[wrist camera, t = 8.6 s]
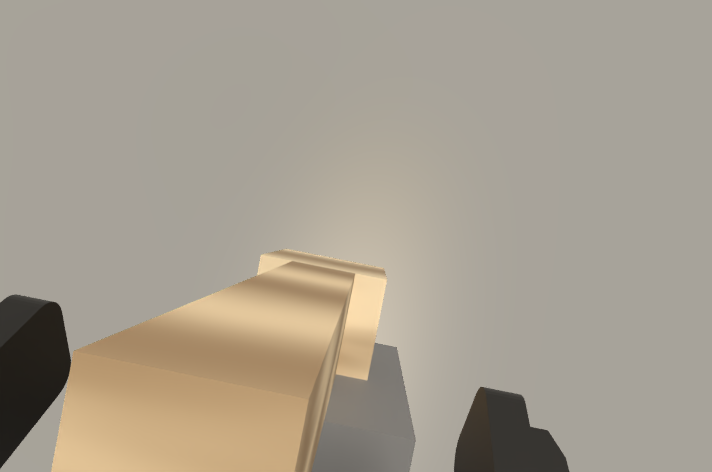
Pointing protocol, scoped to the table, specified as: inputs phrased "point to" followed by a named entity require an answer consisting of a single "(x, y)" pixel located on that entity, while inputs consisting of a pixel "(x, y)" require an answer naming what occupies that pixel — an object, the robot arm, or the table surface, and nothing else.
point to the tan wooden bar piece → (225, 374)
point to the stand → (368, 421)
